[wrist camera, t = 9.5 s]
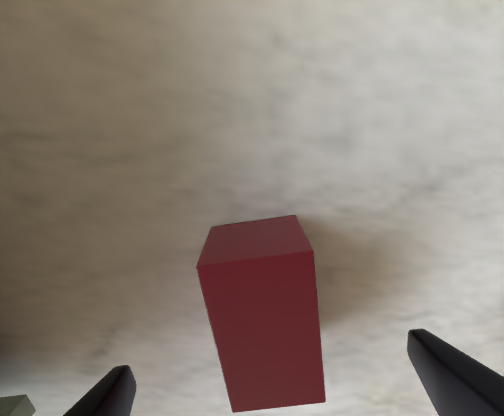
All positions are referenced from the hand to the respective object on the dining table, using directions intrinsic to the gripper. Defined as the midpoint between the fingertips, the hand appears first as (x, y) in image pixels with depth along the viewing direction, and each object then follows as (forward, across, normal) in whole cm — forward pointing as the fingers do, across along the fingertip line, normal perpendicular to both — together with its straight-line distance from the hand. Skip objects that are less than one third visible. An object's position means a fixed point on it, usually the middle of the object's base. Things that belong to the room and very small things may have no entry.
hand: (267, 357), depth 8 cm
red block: (+4, 0, 0) cm, 4 cm away
